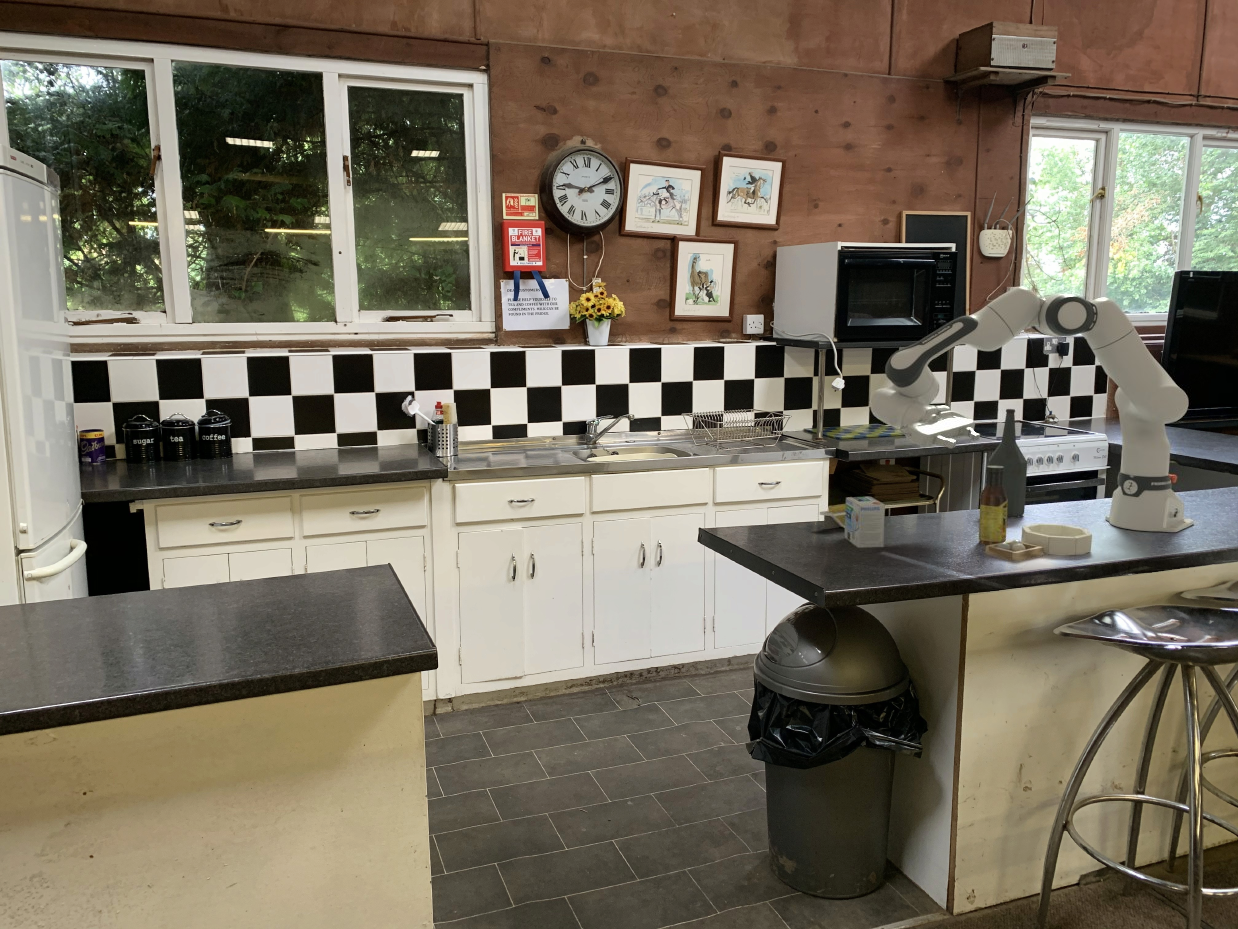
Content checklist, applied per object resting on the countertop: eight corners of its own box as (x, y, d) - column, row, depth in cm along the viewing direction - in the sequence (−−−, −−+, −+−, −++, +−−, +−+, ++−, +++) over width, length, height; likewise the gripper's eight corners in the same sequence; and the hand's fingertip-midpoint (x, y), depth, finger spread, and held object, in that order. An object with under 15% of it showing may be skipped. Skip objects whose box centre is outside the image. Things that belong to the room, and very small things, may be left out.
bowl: (1046, 540, 234) (1048, 521, 233) (1101, 553, 222) (1103, 532, 221) (1009, 548, 227) (1010, 528, 226) (1063, 561, 215) (1065, 540, 214)
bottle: (1031, 516, 262) (1038, 409, 257) (1004, 519, 259) (1010, 411, 254) (1005, 509, 272) (1011, 406, 267) (978, 512, 268) (983, 408, 263)
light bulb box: (843, 537, 240) (845, 496, 238) (869, 537, 240) (870, 496, 239) (858, 548, 229) (859, 505, 228) (884, 547, 230) (886, 504, 228)
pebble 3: (1016, 553, 219) (1017, 541, 219) (1028, 556, 216) (1028, 544, 216) (1008, 555, 218) (1009, 543, 217) (1019, 558, 215) (1020, 545, 215)
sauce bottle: (1007, 550, 226) (1012, 469, 222) (980, 549, 227) (984, 468, 224) (1002, 543, 232) (1006, 464, 229) (975, 542, 233) (980, 464, 230)
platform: (878, 530, 249) (879, 506, 248) (826, 538, 241) (827, 513, 240) (847, 521, 260) (848, 498, 259) (796, 529, 251) (797, 505, 250)
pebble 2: (1014, 550, 222) (1015, 538, 222) (1026, 553, 220) (1026, 540, 219) (1006, 552, 221) (1007, 539, 220) (1017, 554, 218) (1018, 542, 218)
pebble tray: (1012, 551, 224) (1013, 540, 224) (1042, 558, 217) (1043, 547, 217) (985, 557, 219) (985, 545, 219) (1014, 565, 212) (1015, 553, 212)
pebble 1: (1001, 552, 220) (1002, 540, 220) (1012, 555, 218) (1013, 543, 217) (993, 554, 219) (994, 542, 218) (1004, 557, 216) (1005, 544, 216)
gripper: (898, 417, 237) (942, 437, 227) (949, 404, 248) (993, 423, 238) (893, 440, 240) (936, 461, 230) (944, 426, 251) (988, 445, 241)
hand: (966, 441), depth 234 cm, fingers open, 8 cm apart
